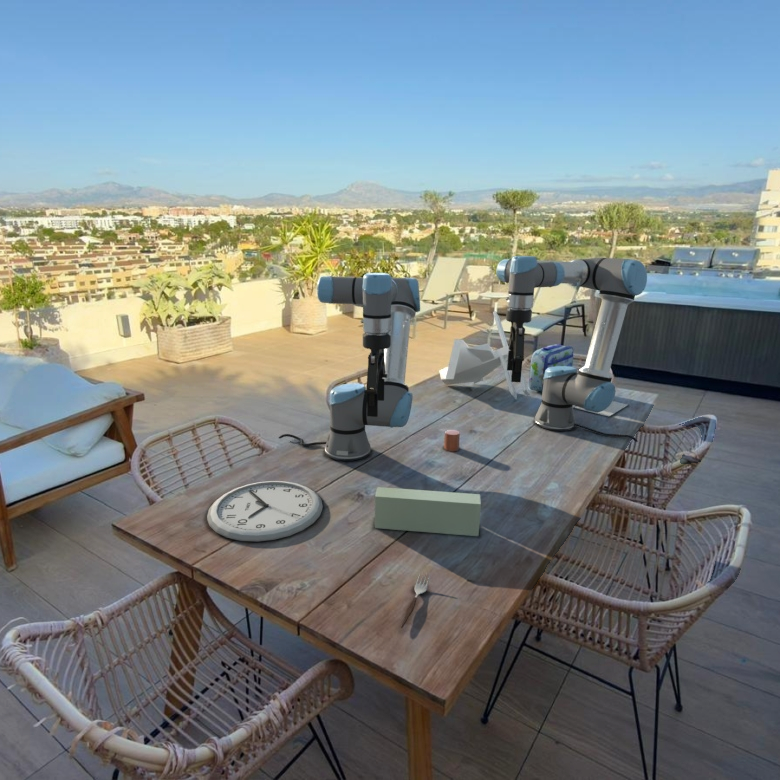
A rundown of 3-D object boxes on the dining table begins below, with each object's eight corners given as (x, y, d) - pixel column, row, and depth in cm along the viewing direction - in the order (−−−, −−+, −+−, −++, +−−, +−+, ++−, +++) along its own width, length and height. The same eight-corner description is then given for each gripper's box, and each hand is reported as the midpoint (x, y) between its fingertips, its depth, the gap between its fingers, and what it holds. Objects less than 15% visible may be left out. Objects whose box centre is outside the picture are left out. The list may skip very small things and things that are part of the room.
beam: (477, 525, 134) (480, 494, 132) (478, 536, 130) (480, 504, 127) (377, 517, 137) (377, 486, 134) (374, 528, 132) (375, 496, 130)
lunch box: (545, 397, 238) (550, 352, 231) (524, 391, 245) (529, 348, 239) (572, 386, 255) (578, 344, 249) (552, 381, 262) (557, 340, 256)
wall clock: (320, 533, 126) (192, 537, 124) (320, 539, 127) (193, 543, 124) (324, 476, 155) (220, 479, 152) (324, 481, 155) (221, 484, 153)
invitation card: (608, 416, 214) (573, 407, 224) (608, 416, 214) (573, 408, 224) (628, 404, 229) (594, 396, 238) (628, 405, 229) (594, 397, 238)
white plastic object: (461, 429, 252) (437, 405, 227) (444, 352, 274) (420, 323, 250) (535, 404, 240) (518, 377, 215) (510, 326, 262) (492, 293, 237)
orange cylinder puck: (458, 445, 183) (459, 430, 181) (458, 451, 178) (459, 435, 177) (444, 445, 184) (445, 429, 182) (444, 450, 179) (444, 434, 177)
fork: (394, 628, 99) (394, 619, 99) (419, 578, 113) (419, 570, 113) (407, 632, 98) (408, 623, 98) (430, 581, 113) (431, 573, 112)
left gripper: (370, 323, 152) (369, 393, 158) (354, 341, 128) (354, 422, 134) (395, 324, 151) (394, 394, 157) (384, 343, 127) (383, 424, 134)
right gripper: (503, 302, 171) (498, 365, 177) (511, 314, 147) (504, 386, 153) (526, 303, 170) (520, 366, 176) (538, 315, 146) (531, 387, 153)
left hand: (376, 407), depth 146 cm, fingers open, 13 cm apart
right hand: (513, 375), depth 165 cm, fingers open, 13 cm apart
